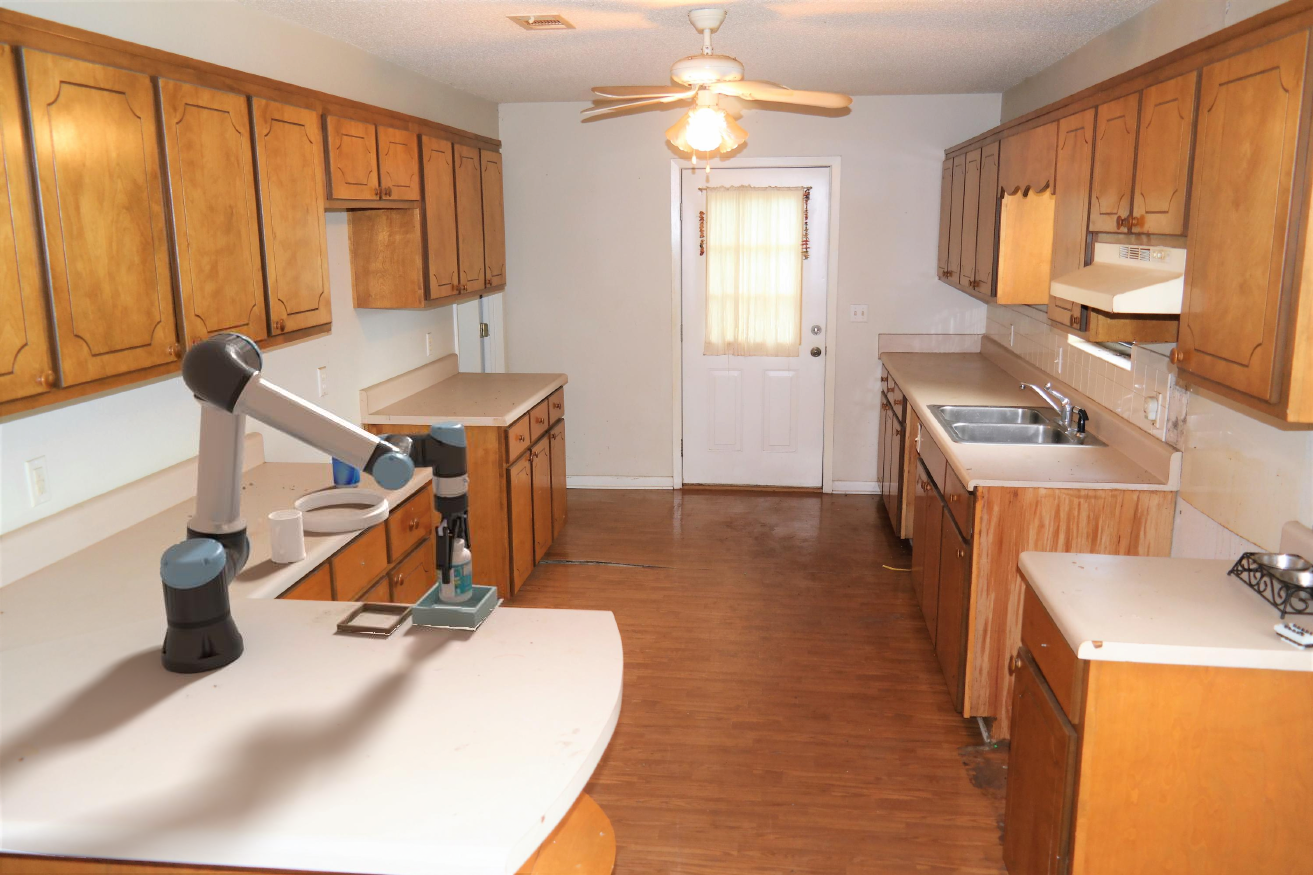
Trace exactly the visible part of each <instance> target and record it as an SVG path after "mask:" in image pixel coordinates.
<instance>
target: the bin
mask: <svg viewBox="0 0 1313 875" xmlns="http://www.w3.org/2000/svg"><path fill="white" fill-rule="evenodd" d="M411 606H412V607H411V609H412V614H411V625H412V624H417V625H431V626H449V627H469V628H475V627H476V626H477V625H478V624H479V623H480V622H481V621H482V620H483V619H484V618H485V617H486V618H488V616H489V615H490V614H491V613H492V611H493V610H494V609H495V608H496V606H498V587H497V586H491V585H490V586H489V585H478V584H472V596H471V597H470V598H469V599H468V600H466V601H463V602H458V603H448V602H444V601H442V600H441V599H440V597H439V585H438V581H437V582H436V583H435V584H434V585H433V586H432V587H431V588H430V589H429V590H427V592H426V593H425V594H424V595H423V596H421V597H420V599H418V601H416V602H415V603H414V604H413V605H411ZM435 607H461V608H435ZM462 608H475V609H462ZM490 609H493V610H490Z"/></svg>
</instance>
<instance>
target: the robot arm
mask: <svg viewBox="0 0 1313 875" xmlns="http://www.w3.org/2000/svg"><path fill="white" fill-rule="evenodd" d="M262 354H263V353H262V352H261V350H260V348H259V346H258V345H257V344H256V343H255V342H254V341H253V339H251V338H249V337H247V336H246V335H243V334H242V333H237V332H220V333H216V334H214V335H211V336H210V337H208V338H207V339H205V340H202V341H199V342H197V343H196V344H194V345H193V346H191V347H190V348H189V349H187V352H186V353H185V354H184V355H183V358H182V362H181V366H180V367H181V368H180V369H181V376H182V379H183V381H184V383H185V385H186V386H187V387H188V389H189V390H190V391H191V392H192V393H193V398H194V400H195V401H196V402H197V403H198V404H199V405H200V408H201V409H200V422H199V424H200V426H199V440H198V441H199V442H198V443H199V444H198V459H197V460H198V462H197V479H196V480H197V481H196V483H197V484H196V500H195V514H194V515H193V516H192V517H190V518H189V519H188V520H187V523H186V538H185V539H186V540H183V541H179V543H174V544H173V545H171V546H169V547H168V548H166V550H164V551H163V553H162V555H161V556H160V561H159V562H160V568H159V575H160V579H161V585H162V592H163V600H164V607H165V615H166V622H167V623H166V624H167V628H166V632H165V636H164V639H163V643H162V644H163V645H162V649H161V653H160V655H161V656H160V657H161V663H162V664H161V665H162V666H163V667H164V668H165V669H167V670H168V671H171V672H174V673H182V674H184V673H186V674H187V673H188V674H189V673H190V674H191V673H201V672H207V671H211V670H215V669H217V668H220V667H221V668H222V667H224V666H225V665H228V664H230V663H232V662H234V661H235V660H236V659H238V658H239V657H241V655H242V654H243V653H244V651H245V647H244V646H245V644H244V638H243V636H242V634H241V633H240V631H239V629H238V627H237V624H236V623H235V620H234V618H233V617H232V613H231V612H232V611H231V602H230V594H229V593H230V592H229V587H230V585H231V584H232V582H233V581H234V580H235V578H236V576H237V575H238V574H239V573H240V572H241V571H242V570H243V568H244V567H245V566H246V564H247V561H248V560H249V557H250V552H251V542H250V537H249V535H248V534H247V533H248V532H247V531H248V530H247V528H248V522H247V520H246V519H245V518H244V517H243V516H242V515H241V505H242V504H241V502H242V488H243V469H244V455H245V454H244V453H245V439H246V426H247V425H246V423H247V416H249V417H250V418H252V419H254V420H257V421H258V422H261V423H262V424H265V425H267V426H268V427H270V428H272V429H274V430H277V431H279V432H281V433H283V434H285V435H287V436H289V437H291V438H293V439H295V440H298V441H299V442H301V443H304V444H306V445H307V446H310V447H312V448H314V449H315V450H317V451H320V452H321V453H323V454H326V455H327V456H330V457H331V458H332V457H334V458H336V459H338V460H340V461H342V462H344V463H346V464H348V465H350V466H352V467H354V468H356V469H359V470H360V472H362V473H365V474H366V475H369V476H371V477H373V479H374V481H375V483H376V484H377V485H378V486H379V487H380V488H382V489H383V490H386V491H397V490H400V489H403V488H405V487H406V486H407V485H408V484H409V482H410V480H412V478H413V476H414V472H415V469H424V468H431V469H432V471H431V472H432V473H431V474H432V475H431V476H432V493H434V494H433V509H434V510H435V512H437V513H439V514H440V515H441V516H440V522H439V523H440V525H435V527H434V532H435V570H437V571H438V570H441V585H442V596H445V597H454V596H455V587H454V568H452V559H453V549H454V540H455V539H456V538H460V539H463V540H464V544H465V546H464V548H466V549H467V550H469V551H470V553H471V554H472V549H471V547H472V544H471V534H470V525H469V506H470V504H469V502H470V500H469V492H468V489H469V488H468V487H469V486H468V485H469V483H470V478H468V454H467V453H468V450H467V438H466V428H465V426H464V425H463V424H462V423H460V422H457V421H440V422H439V421H438V422H435V423H432V424H431V425H430V427H429V431H428V432H426V433H425V432H423V433H422V432H421V433H420V432H419V433H418V432H417V433H386V434H378V435H375V434H372V433H370V432H368V431H367V430H364V429H363V428H361V427H358V426H357V425H355V424H353V423H351V422H349V421H346V420H345V419H343V418H341V417H338V415H335V414H333V413H331V412H328V411H327V410H326V409H323V408H321V407H319V406H317V405H315V404H314V403H311V402H310V401H307V400H305V399H303V398H302V397H299V396H297V395H295V394H293V393H292V392H290V391H287V390H285V389H283V388H281V387H279V386H277V385H275V384H273V383H271V382H269V381H267V379H266V380H265V379H264V378H263V376H262V375H261V374H262V369H263V355H262Z"/></svg>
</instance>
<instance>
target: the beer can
mask: <svg viewBox="0 0 1313 875" xmlns="http://www.w3.org/2000/svg"><path fill="white" fill-rule="evenodd" d="M331 464H332V476H333V477H332V478H333V484H334V485H335V487H336V489H342V488H357V487H358V486H359V484H360V483H361V470H359V469H356V468H354V467H352V466H350V465H348V464H346V463H344V462H342V461H340V460H338V459H336V458H334V457H332V456H331Z"/></svg>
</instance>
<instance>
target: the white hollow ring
mask: <svg viewBox="0 0 1313 875" xmlns="http://www.w3.org/2000/svg"><path fill="white" fill-rule="evenodd" d="M342 504H365V505H374V506H371V507H369V508H366V509H362V510H357V511H352V512H351V511H350V512H343V513H342V512H340V513H313V512H309V511H311V510H314V509H317V508H322V507H327V506H333V505H342ZM389 508H390V507H389V502H388V501H387V499H386V497H385V495H384V493H382V492H380V491H377V490H375V489H370V488H357V487H354V488H335V489H327V490H322V491H317V492H312V493H310V494H308V495H305V496H302V497H300V498H299V499H297V500H296V501H295V503H294V508H292V510H298V511H300V512H301V513H302V524H303V531H307V532H314V533H341V532H351V531H356V530H361V529H365V528H370V527H373V526H376V525H377V524H380V523H382V522H384V521H385V520H386V519H387V518H388V517H389V515H390V514H389V513H390V511H389Z"/></svg>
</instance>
